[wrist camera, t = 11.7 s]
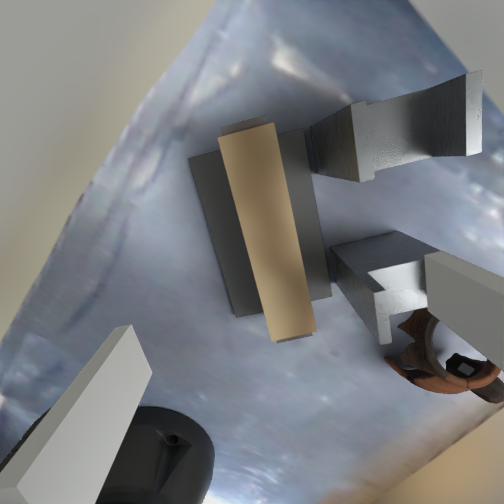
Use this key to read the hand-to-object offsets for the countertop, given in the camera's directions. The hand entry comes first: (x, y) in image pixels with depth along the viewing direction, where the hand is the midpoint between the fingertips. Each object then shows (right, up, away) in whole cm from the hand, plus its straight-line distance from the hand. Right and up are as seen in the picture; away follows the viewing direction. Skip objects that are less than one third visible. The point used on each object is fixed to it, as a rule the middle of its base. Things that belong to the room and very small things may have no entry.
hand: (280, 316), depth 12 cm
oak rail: (0, +5, +14) cm, 14 cm away
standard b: (+7, +12, +12) cm, 19 cm away
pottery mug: (+18, -6, +18) cm, 26 cm away
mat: (0, +5, +14) cm, 15 cm away
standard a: (+10, +2, +15) cm, 18 cm away
